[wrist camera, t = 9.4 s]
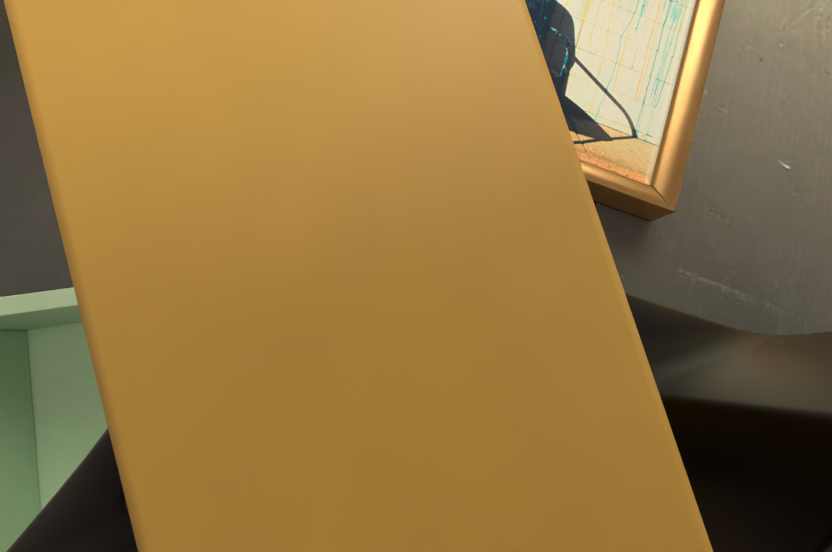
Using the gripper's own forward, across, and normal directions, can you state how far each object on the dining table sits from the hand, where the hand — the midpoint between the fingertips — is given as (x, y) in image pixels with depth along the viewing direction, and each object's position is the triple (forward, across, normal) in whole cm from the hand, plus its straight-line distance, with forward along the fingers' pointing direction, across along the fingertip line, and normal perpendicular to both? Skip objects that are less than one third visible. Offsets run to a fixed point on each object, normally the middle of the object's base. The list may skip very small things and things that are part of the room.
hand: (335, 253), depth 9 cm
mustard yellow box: (+4, 0, +6) cm, 7 cm away
